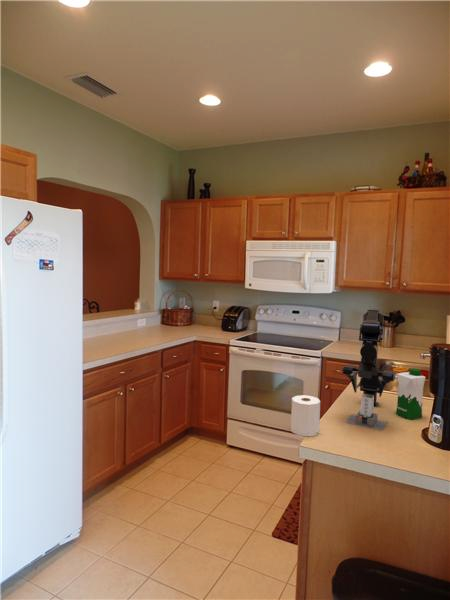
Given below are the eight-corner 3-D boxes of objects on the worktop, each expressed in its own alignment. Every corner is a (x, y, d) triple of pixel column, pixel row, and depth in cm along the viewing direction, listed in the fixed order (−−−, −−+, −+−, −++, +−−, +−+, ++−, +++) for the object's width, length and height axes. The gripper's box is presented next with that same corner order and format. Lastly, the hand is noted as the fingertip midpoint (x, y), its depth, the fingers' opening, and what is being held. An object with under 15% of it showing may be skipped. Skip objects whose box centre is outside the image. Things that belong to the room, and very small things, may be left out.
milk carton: (425, 420, 161) (428, 371, 160) (409, 423, 158) (411, 373, 156) (407, 412, 170) (410, 366, 168) (391, 415, 166) (394, 368, 164)
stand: (351, 416, 164) (351, 407, 164) (387, 424, 157) (388, 414, 156) (344, 424, 155) (345, 414, 155) (382, 433, 148) (383, 422, 148)
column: (362, 412, 158) (363, 393, 158) (373, 414, 156) (374, 395, 156) (359, 416, 154) (360, 396, 154) (370, 418, 152) (371, 398, 152)
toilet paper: (323, 435, 145) (325, 403, 144) (297, 437, 143) (298, 404, 142) (312, 424, 155) (313, 394, 154) (286, 426, 153) (287, 395, 152)
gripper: (339, 355, 152) (337, 395, 153) (391, 362, 142) (389, 405, 143) (347, 350, 161) (345, 388, 162) (396, 356, 151) (394, 396, 153)
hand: (367, 394), depth 155 cm, fingers open, 9 cm apart
